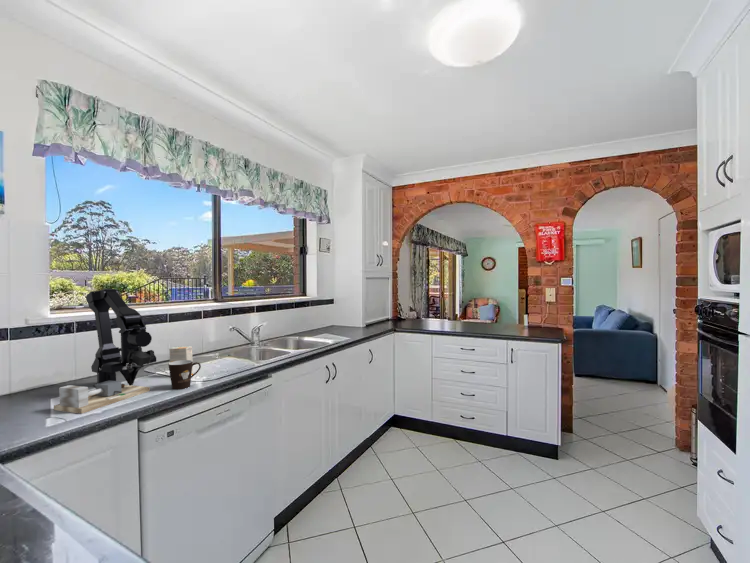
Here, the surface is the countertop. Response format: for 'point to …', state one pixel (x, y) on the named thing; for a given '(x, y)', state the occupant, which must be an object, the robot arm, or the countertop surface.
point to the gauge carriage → (106, 388)
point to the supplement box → (181, 354)
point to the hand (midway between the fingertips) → (130, 385)
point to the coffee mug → (181, 373)
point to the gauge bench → (92, 398)
